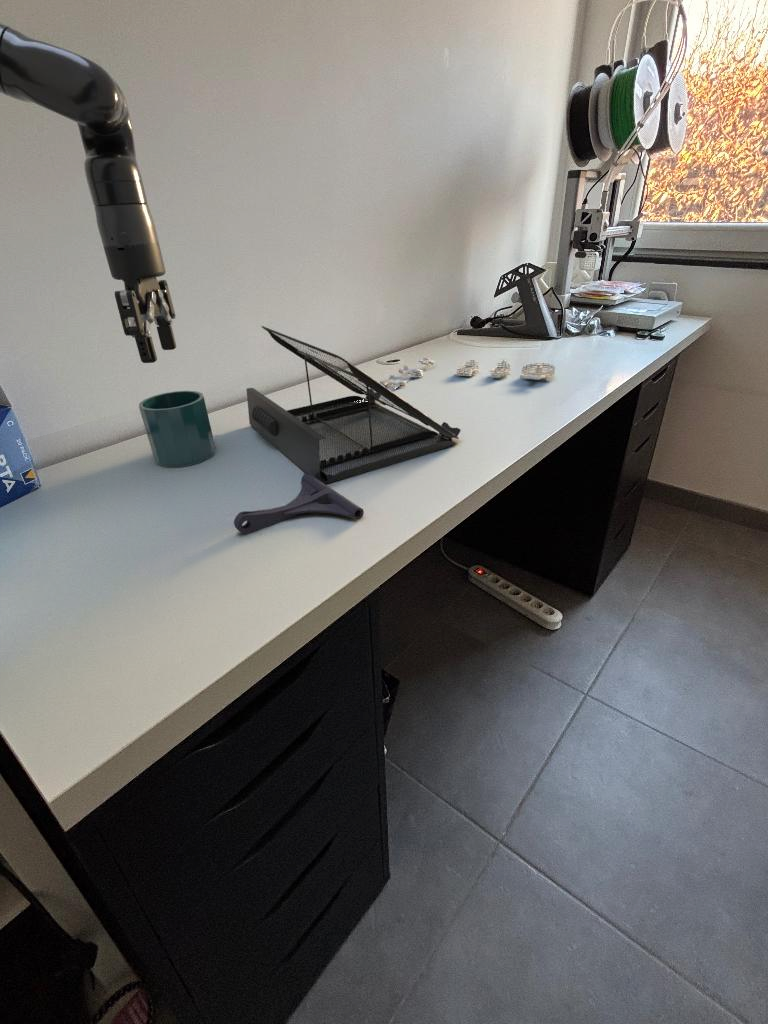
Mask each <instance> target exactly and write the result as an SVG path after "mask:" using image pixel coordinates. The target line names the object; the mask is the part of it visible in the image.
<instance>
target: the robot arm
mask: <svg viewBox="0 0 768 1024" xmlns="http://www.w3.org/2000/svg"><path fill="white" fill-rule="evenodd" d="M0 94H2V95H4V96H7V97H10V98H13V99H15V100H18V101H21V102H25V103H30V104H35V105H38V106H39V107H42V108H44V109H46V110H48V111H51V112H53V113H56V114H58V115H59V116H62V117H64V118H66V119H69V120H71V121H73V122H75V123H77V127H78V131H79V134H80V139H81V142H82V147H83V151H84V154H85V159H84V164H83V165H84V166H83V167H84V169H83V170H84V174H85V178H86V183H87V186H88V190H89V194H90V197H91V201H92V204H93V206H94V207H93V208H94V212H95V219H96V225H97V228H98V229H97V230H98V233H99V236H100V239H101V243H102V247H103V250H104V254H105V257H106V258H105V259H106V261H107V264H108V268H109V272H110V276H111V278H112V279H114V280H117V281H122V282H123V283H124V290H115V291H114V298H115V301H116V305H117V306H116V307H117V310H118V314H119V317H120V321H121V327H122V329H123V333H124V335H125V336H126V337H130V336H131V338H134V341H135V344H136V348H137V351H138V354H139V357H140V358H139V359H140V361H141V363H143V364H152V363H153V364H154V363H155V362H157V360H158V357H157V352H156V349H155V345H154V342H153V338H152V336H151V327H152V326H151V325H152V323H155V326H156V331H157V335H158V339H159V342H160V347H161V349H162V350H163V351H173V350H175V349H177V344H176V339H175V335H174V331H173V326H172V325H173V323H174V321H173V320H175V319H176V312H175V309H174V304H173V300H172V297H171V292H170V288H169V284H168V282H167V280H166V279H157V278H160V277H162V276H165V275H166V268H165V263H164V258H163V254H162V250H161V245H160V242H159V237H158V233H157V229H156V228H157V227H156V225H155V222H154V221H155V220H154V218H153V216H152V213H151V210H150V207H149V204H148V199H147V194H146V190H145V186H144V182H143V178H142V174H141V171H140V167H139V165H138V161H137V153H136V144H135V139H134V133H133V126H132V120H131V116H130V111H129V107H128V103H127V100H126V97H125V95H124V92H123V90H122V89H121V87H120V85H119V84H118V83H117V82H116V80H115V79H114V78H113V76H111V75H110V73H109V72H108V71H107V70H106V69H105V68H104V67H102V66H101V65H99V63H97V62H95V61H93V60H91V59H90V58H87V57H85V56H83V55H81V54H78V53H75V52H73V51H70V50H68V49H66V48H63V47H60V46H56V45H54V44H50V43H49V42H44V41H42V40H39V39H36V38H32V37H30V36H28V35H27V34H25V33H22V32H21V31H19V30H18V29H15V28H13V27H10V26H9V25H6V24H4V23H2V22H0Z"/></svg>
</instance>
